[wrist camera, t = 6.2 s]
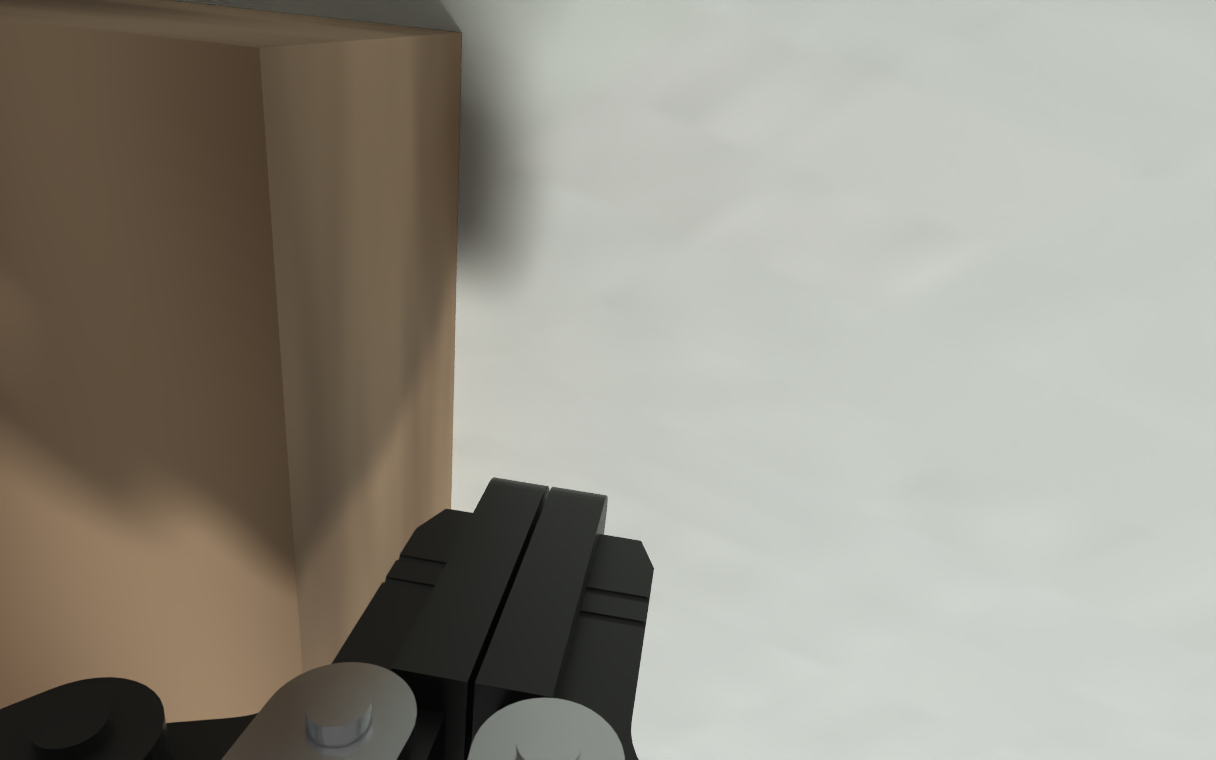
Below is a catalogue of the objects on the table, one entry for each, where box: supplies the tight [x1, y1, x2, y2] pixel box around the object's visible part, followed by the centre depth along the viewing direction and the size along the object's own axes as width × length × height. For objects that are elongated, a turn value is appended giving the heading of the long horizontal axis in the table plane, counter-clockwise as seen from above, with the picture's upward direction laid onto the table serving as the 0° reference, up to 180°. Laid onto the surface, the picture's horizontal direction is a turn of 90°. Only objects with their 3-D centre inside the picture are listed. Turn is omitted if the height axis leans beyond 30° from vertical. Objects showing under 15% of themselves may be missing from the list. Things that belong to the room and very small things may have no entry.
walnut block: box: [0, 0, 462, 723], centre depth 12 cm, size 10×10×6 cm
